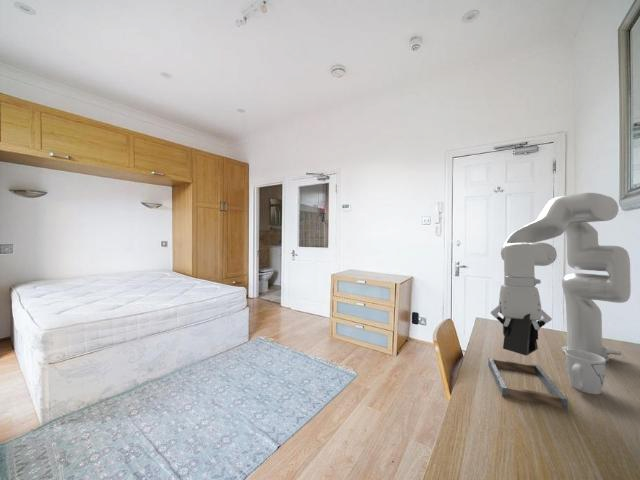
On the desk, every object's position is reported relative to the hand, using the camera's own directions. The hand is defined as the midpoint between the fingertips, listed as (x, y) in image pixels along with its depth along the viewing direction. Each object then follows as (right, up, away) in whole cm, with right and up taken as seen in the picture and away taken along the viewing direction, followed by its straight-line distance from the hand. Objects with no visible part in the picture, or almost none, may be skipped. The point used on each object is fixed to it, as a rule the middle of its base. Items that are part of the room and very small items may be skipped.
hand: (520, 339), depth 79 cm
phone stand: (0, -3, 0) cm, 3 cm away
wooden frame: (+1, -14, 0) cm, 14 cm away
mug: (+16, -14, -4) cm, 21 cm away
